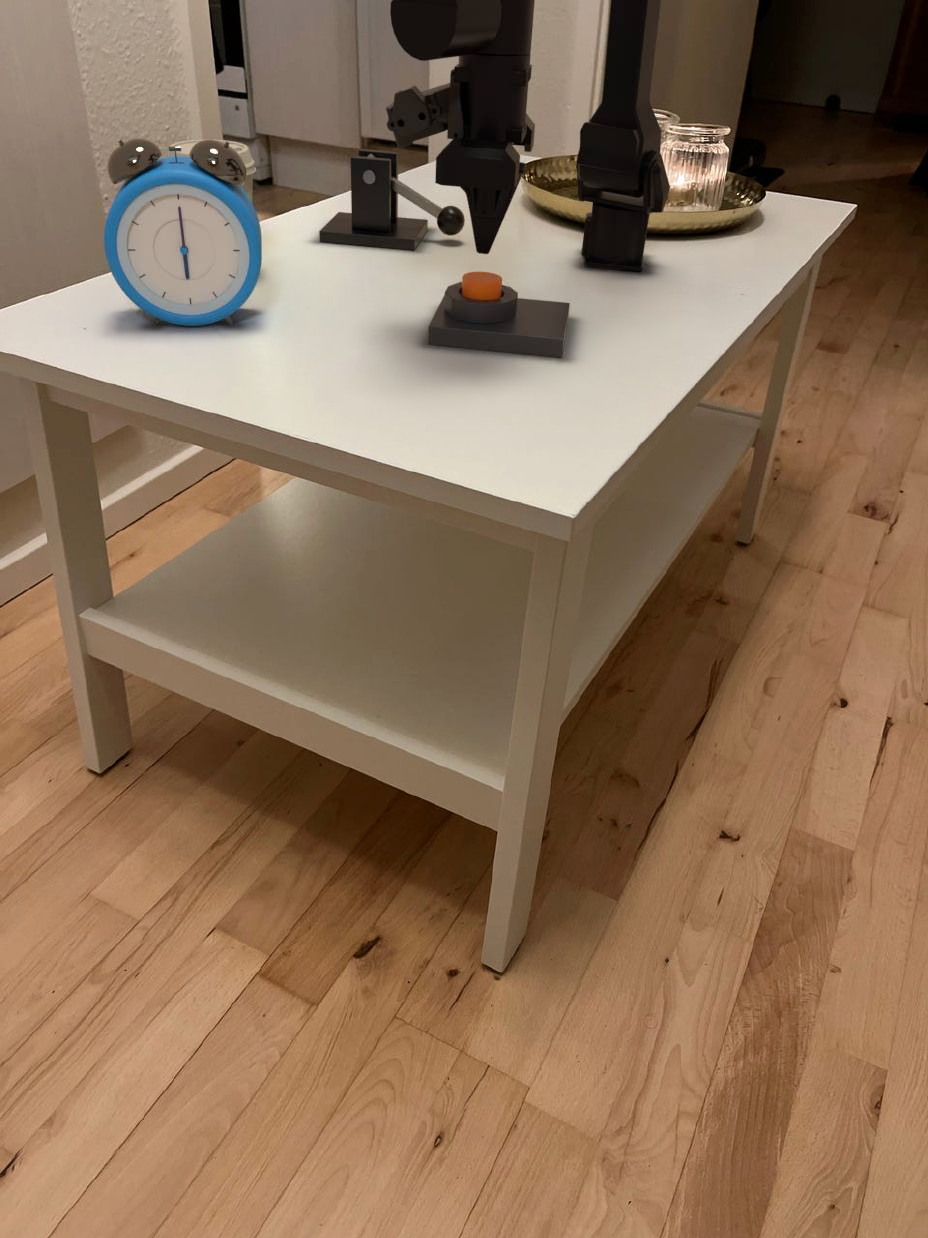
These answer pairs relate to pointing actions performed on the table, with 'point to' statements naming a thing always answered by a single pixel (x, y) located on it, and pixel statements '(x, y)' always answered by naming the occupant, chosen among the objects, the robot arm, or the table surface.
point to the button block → (500, 323)
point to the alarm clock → (182, 231)
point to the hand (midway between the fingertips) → (483, 252)
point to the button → (481, 285)
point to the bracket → (374, 207)
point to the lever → (432, 208)
